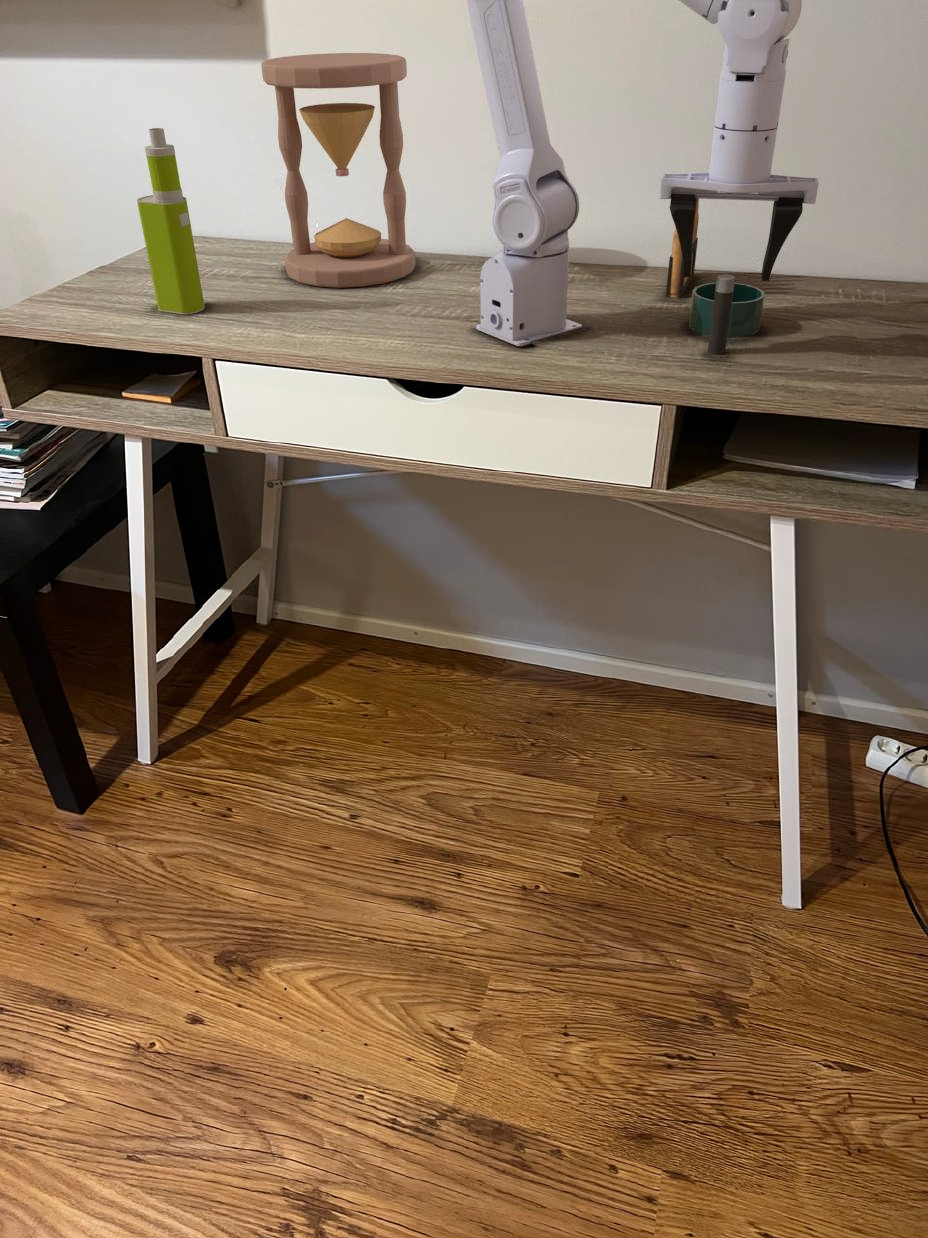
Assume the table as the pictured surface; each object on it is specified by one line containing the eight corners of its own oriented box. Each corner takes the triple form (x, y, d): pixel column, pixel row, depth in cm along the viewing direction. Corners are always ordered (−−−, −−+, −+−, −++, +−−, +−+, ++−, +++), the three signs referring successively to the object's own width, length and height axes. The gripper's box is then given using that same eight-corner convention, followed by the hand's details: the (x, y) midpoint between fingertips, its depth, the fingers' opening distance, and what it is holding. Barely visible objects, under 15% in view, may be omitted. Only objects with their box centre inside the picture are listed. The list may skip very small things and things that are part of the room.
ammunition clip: (680, 301, 118) (691, 196, 111) (664, 300, 119) (675, 195, 112) (693, 277, 126) (705, 178, 120) (679, 276, 127) (689, 177, 120)
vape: (191, 315, 118) (159, 132, 106) (153, 309, 120) (116, 129, 108) (211, 306, 120) (181, 127, 109) (172, 301, 122) (139, 124, 111)
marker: (716, 360, 102) (727, 280, 97) (703, 355, 103) (713, 276, 98) (728, 356, 103) (739, 276, 98) (714, 351, 104) (725, 272, 99)
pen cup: (745, 346, 105) (750, 306, 103) (677, 334, 109) (681, 296, 106) (768, 325, 110) (774, 288, 108) (703, 315, 114) (707, 278, 111)
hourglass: (263, 283, 128) (234, 65, 114) (318, 249, 142) (298, 51, 128) (389, 292, 124) (375, 67, 109) (432, 256, 137) (425, 52, 123)
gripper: (824, 121, 92) (798, 268, 100) (669, 118, 95) (655, 262, 103) (829, 133, 86) (802, 288, 94) (664, 130, 89) (650, 281, 97)
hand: (725, 276), depth 98 cm, fingers open, 7 cm apart
